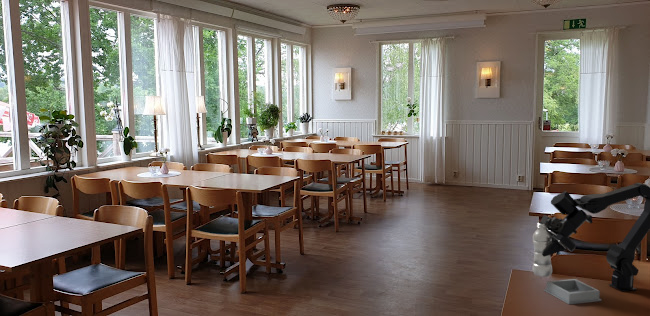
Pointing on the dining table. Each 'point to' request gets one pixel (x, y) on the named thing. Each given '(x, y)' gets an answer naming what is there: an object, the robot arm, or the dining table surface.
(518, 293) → the dining table surface
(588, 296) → the bottle dock
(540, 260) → the plastic bottle
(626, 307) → the dining table surface
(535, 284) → the dining table surface
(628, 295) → the dining table surface
